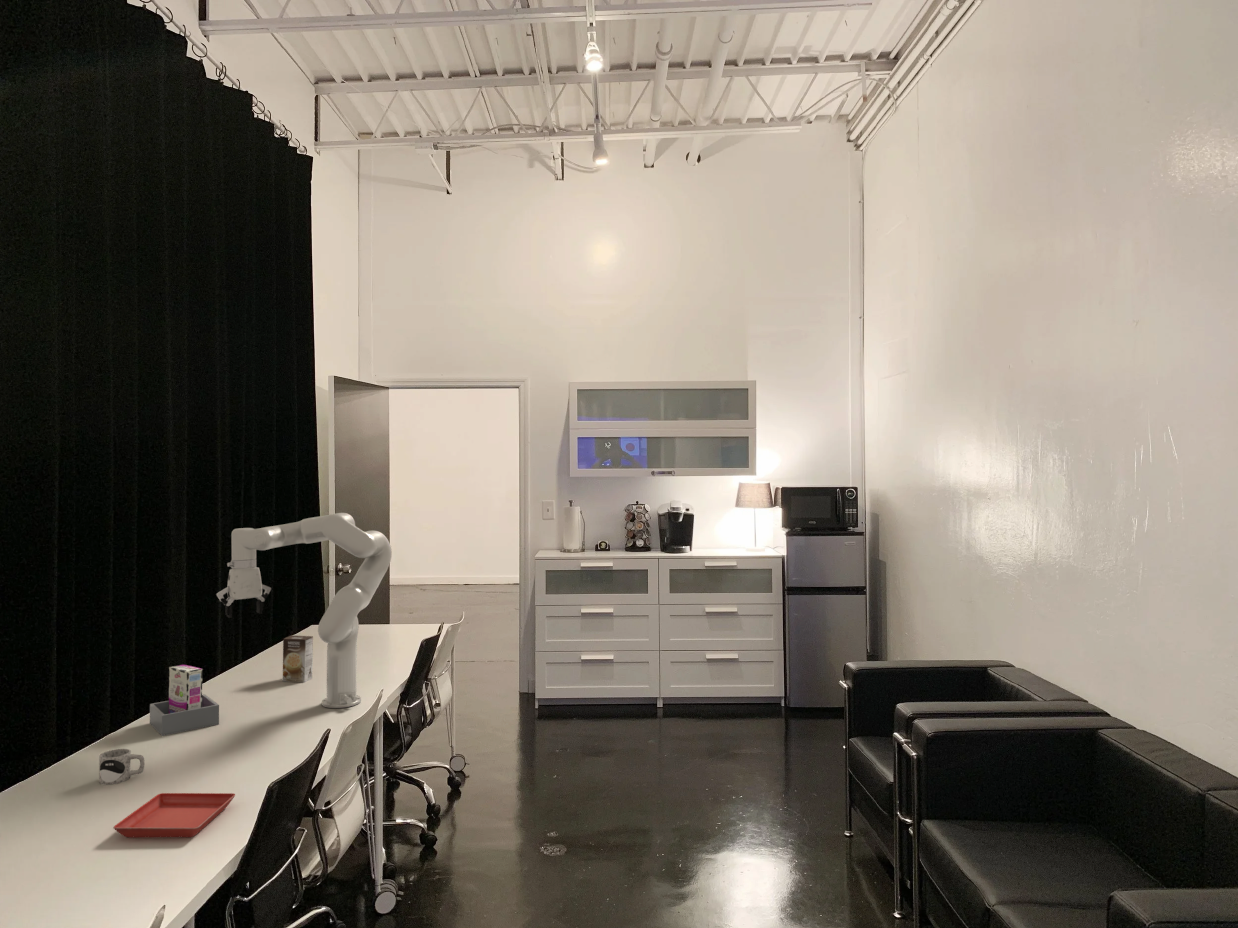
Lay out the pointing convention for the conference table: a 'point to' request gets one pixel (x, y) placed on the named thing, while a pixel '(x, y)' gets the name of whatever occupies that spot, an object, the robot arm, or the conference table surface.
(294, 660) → the coffee box
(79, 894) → the conference table surface
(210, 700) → the bin
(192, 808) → the plant saucer
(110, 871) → the conference table surface
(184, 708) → the candy bar box
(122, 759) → the mug
